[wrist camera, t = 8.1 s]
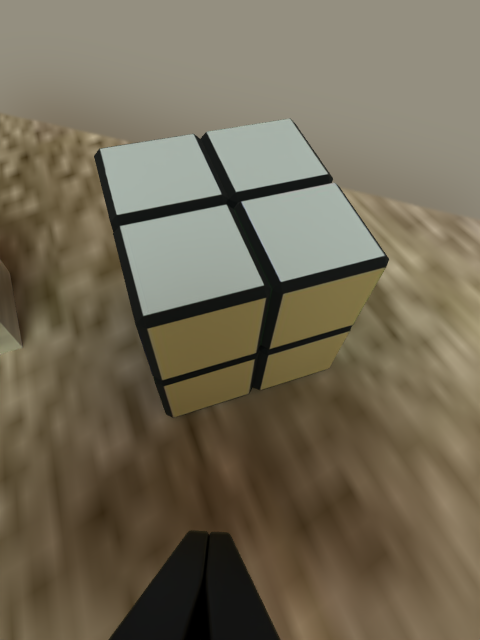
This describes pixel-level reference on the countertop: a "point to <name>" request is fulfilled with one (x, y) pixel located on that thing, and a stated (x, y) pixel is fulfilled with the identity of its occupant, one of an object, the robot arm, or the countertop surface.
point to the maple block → (8, 314)
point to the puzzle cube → (236, 259)
